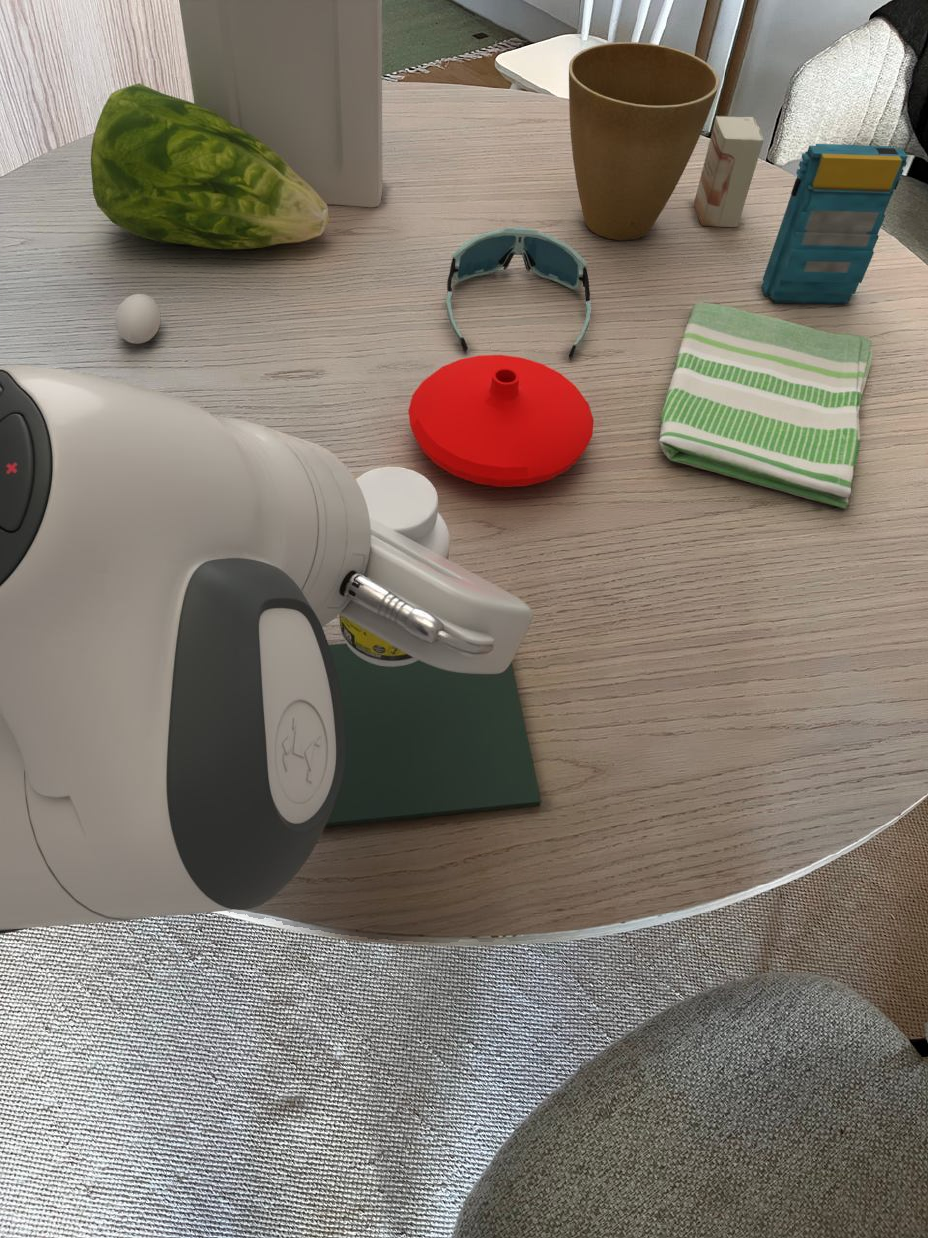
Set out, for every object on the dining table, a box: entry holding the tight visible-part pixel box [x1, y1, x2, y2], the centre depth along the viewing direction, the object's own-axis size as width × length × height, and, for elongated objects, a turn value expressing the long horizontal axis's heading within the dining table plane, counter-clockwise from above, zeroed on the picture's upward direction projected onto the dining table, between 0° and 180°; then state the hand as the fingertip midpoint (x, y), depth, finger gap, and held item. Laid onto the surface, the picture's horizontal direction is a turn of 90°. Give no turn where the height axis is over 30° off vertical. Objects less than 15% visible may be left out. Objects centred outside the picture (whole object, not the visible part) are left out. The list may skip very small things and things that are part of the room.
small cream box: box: [693, 115, 765, 228], centre depth 108 cm, size 5×4×10 cm
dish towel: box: [658, 302, 874, 510], centre depth 90 cm, size 18×23×3 cm
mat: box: [325, 643, 542, 828], centre depth 67 cm, size 18×14×1 cm
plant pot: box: [568, 41, 720, 241], centre depth 103 cm, size 15×15×16 cm
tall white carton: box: [178, 0, 384, 208], centre depth 102 cm, size 19×15×28 cm
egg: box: [115, 293, 162, 345], centre depth 90 cm, size 4×6×4 cm, turn 176°
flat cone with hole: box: [407, 354, 595, 488], centre depth 83 cm, size 16×16×7 cm
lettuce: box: [90, 83, 330, 251], centre depth 99 cm, size 14×23×13 cm, turn 83°
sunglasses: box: [445, 226, 592, 358], centre depth 96 cm, size 14×15×5 cm
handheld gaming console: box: [761, 143, 909, 305], centre depth 97 cm, size 10×4×15 cm, turn 93°
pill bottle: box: [338, 466, 451, 667], centre depth 55 cm, size 6×6×11 cm
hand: (398, 555), depth 54 cm, fingers closed on pill bottle, 6 cm apart
